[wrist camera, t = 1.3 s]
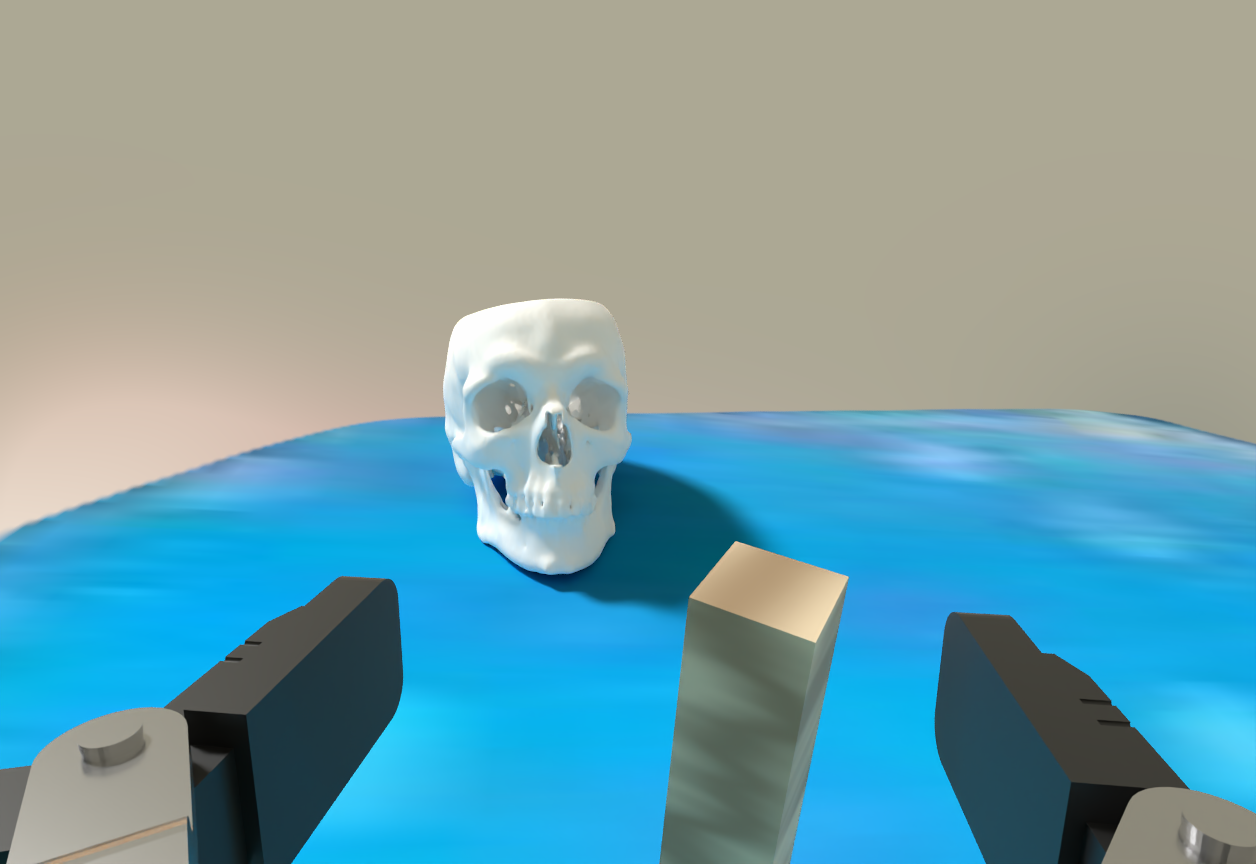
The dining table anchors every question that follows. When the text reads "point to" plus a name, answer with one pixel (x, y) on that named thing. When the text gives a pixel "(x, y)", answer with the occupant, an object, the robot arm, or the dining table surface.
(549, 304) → the skull planter
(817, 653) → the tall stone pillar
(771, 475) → the dining table surface
